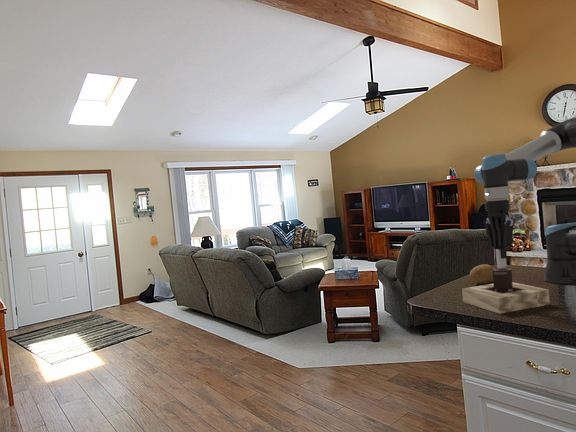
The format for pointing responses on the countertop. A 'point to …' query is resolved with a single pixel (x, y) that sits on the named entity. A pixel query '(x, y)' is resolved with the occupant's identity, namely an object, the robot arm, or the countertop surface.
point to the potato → (482, 274)
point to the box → (502, 280)
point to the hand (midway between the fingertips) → (501, 267)
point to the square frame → (506, 297)
